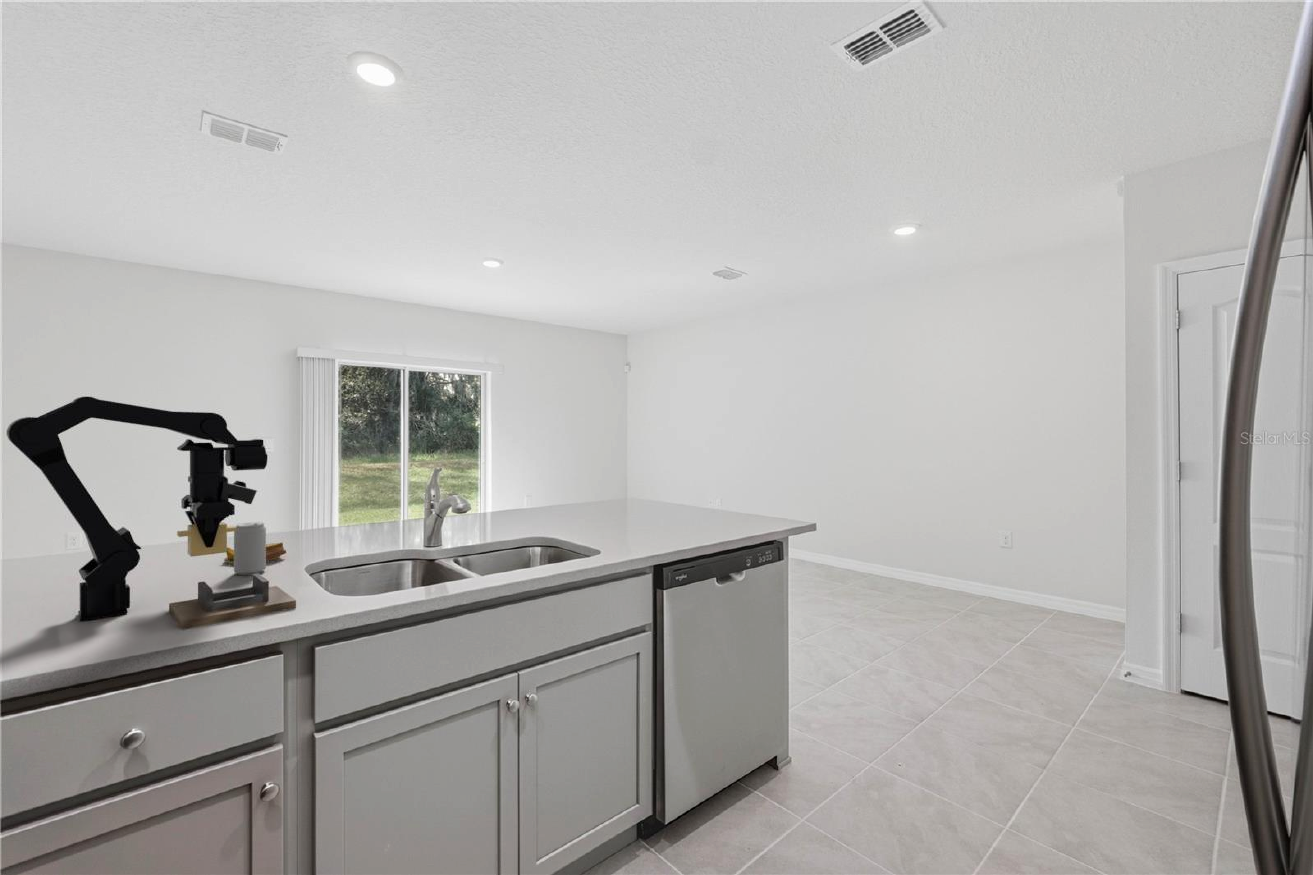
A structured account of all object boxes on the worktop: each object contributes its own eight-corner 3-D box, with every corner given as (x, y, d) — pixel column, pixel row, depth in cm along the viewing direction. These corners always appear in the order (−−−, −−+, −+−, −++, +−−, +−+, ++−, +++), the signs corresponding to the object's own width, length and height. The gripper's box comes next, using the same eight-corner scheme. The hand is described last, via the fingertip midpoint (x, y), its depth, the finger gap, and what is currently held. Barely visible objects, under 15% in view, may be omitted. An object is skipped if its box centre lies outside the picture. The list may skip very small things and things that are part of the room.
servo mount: (181, 629, 103) (181, 599, 103) (169, 611, 113) (169, 583, 113) (296, 607, 117) (296, 580, 116) (276, 592, 126) (276, 567, 126)
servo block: (179, 558, 118) (179, 528, 118) (176, 554, 121) (176, 526, 120) (237, 551, 125) (237, 523, 125) (232, 548, 128) (232, 520, 127)
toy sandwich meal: (261, 553, 162) (261, 537, 162) (294, 559, 157) (294, 541, 157) (212, 563, 151) (212, 545, 151) (246, 569, 146) (246, 550, 146)
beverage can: (249, 576, 138) (249, 526, 138) (227, 574, 139) (227, 525, 139) (272, 570, 144) (272, 522, 144) (250, 568, 146) (250, 520, 145)
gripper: (264, 473, 122) (263, 547, 122) (242, 467, 135) (242, 534, 135) (197, 476, 114) (197, 555, 114) (180, 469, 126) (181, 540, 127)
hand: (207, 545), depth 123 cm, fingers closed on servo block, 4 cm apart
